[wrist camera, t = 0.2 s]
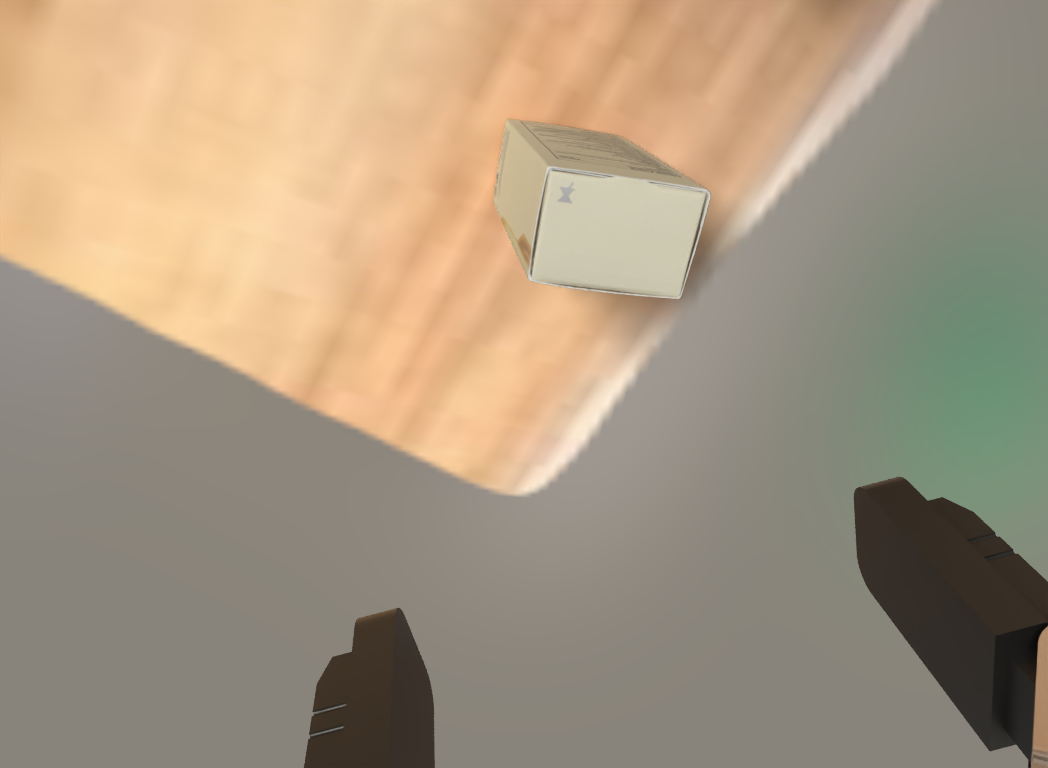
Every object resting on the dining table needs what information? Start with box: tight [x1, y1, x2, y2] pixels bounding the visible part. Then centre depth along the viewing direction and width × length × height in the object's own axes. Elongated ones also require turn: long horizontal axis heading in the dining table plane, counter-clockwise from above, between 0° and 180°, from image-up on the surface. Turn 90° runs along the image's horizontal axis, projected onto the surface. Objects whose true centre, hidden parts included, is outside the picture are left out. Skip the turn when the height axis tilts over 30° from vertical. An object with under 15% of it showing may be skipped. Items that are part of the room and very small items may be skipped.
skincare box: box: [493, 119, 711, 299], centre depth 34 cm, size 6×4×12 cm
